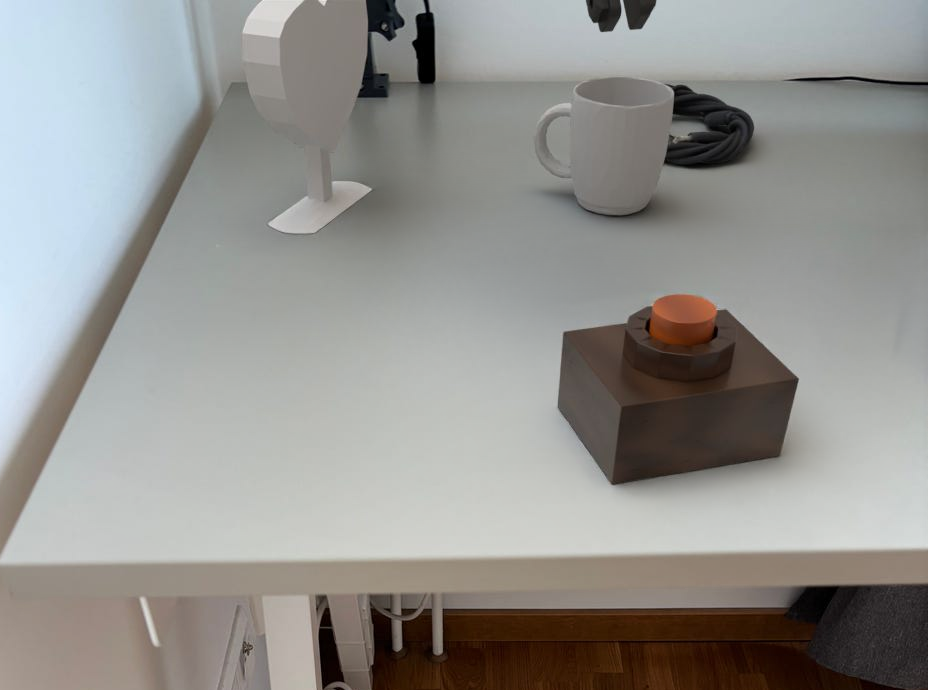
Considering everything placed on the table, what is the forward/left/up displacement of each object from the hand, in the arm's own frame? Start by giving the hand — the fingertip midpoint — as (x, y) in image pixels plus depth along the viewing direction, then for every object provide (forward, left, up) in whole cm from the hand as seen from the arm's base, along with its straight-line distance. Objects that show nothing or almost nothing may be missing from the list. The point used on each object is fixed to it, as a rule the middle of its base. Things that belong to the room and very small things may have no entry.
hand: (626, 22), depth 68 cm
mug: (-3, -28, -22) cm, 36 cm away
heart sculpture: (+23, -27, -22) cm, 42 cm away
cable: (-15, -45, -22) cm, 53 cm away
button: (-3, +13, -15) cm, 20 cm away
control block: (-3, +13, -22) cm, 26 cm away
